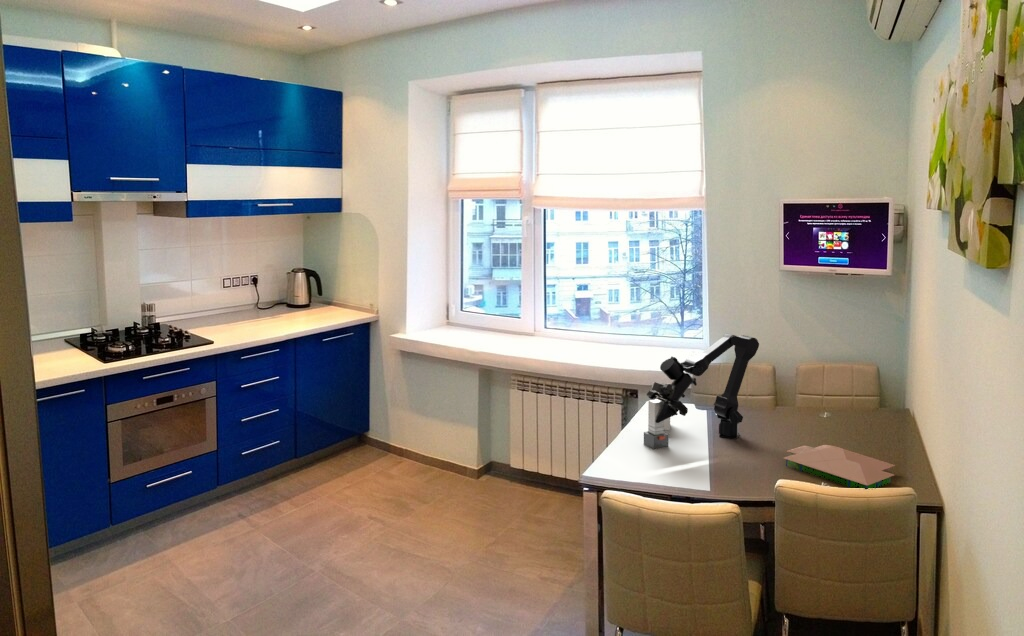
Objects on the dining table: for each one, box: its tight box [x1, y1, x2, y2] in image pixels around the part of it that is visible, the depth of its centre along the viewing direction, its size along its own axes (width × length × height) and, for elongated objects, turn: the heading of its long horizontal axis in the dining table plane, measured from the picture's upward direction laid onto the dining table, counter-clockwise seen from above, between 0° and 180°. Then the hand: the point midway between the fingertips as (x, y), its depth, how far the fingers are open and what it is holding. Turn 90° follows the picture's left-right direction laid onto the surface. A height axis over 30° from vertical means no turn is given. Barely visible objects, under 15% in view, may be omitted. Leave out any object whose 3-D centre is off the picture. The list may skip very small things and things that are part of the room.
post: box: [647, 399, 665, 436], centre depth 267 cm, size 4×4×13 cm
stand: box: [643, 430, 670, 450], centre depth 269 cm, size 10×10×6 cm
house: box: [782, 444, 896, 489], centre depth 243 cm, size 23×33×8 cm
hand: (653, 420), depth 267 cm, fingers closed on post, 4 cm apart
